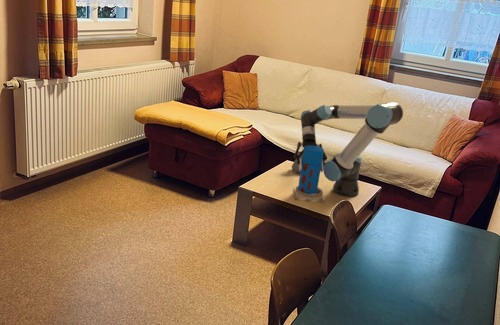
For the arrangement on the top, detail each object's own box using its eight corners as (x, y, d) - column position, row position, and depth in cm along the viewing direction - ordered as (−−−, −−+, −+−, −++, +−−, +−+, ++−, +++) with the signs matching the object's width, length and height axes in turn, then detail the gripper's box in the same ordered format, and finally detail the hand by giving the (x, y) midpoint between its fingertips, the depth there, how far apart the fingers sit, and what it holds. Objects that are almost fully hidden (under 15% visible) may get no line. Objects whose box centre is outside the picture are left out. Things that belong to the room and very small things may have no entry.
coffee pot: (289, 168, 319) (292, 146, 314) (307, 169, 320) (310, 147, 315) (294, 179, 298) (297, 156, 294) (313, 181, 300) (316, 158, 295)
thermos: (307, 185, 282) (314, 144, 274) (320, 192, 275) (328, 150, 266) (293, 188, 276) (300, 146, 267) (307, 195, 268) (314, 152, 260)
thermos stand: (321, 192, 283) (322, 186, 282) (324, 203, 268) (325, 196, 267) (293, 189, 283) (294, 183, 282) (295, 199, 268) (296, 193, 267)
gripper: (326, 140, 283) (329, 174, 274) (286, 137, 279) (288, 171, 269) (331, 134, 276) (334, 169, 267) (290, 130, 272) (292, 165, 263)
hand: (311, 170), depth 268 cm, fingers open, 12 cm apart
